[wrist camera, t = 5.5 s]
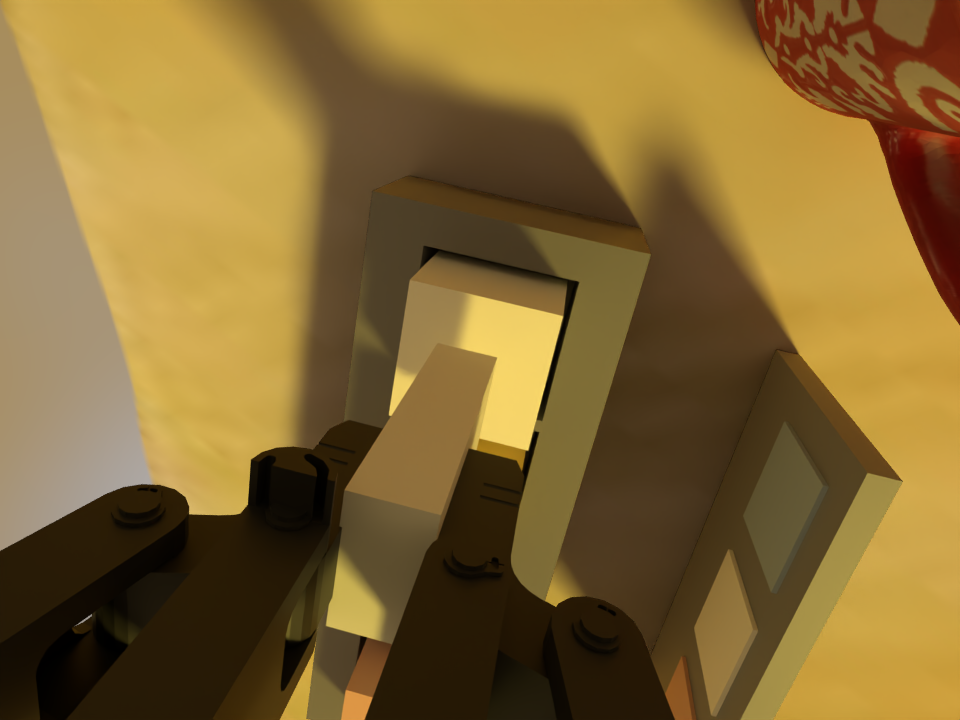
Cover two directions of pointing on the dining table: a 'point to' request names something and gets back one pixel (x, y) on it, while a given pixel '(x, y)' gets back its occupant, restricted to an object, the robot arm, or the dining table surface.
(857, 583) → the dining table surface
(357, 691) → the key terracotta
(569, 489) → the frame
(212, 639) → the robot arm
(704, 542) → the placard
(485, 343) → the key ivory
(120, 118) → the dining table surface
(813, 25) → the mug
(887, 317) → the dining table surface
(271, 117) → the dining table surface
